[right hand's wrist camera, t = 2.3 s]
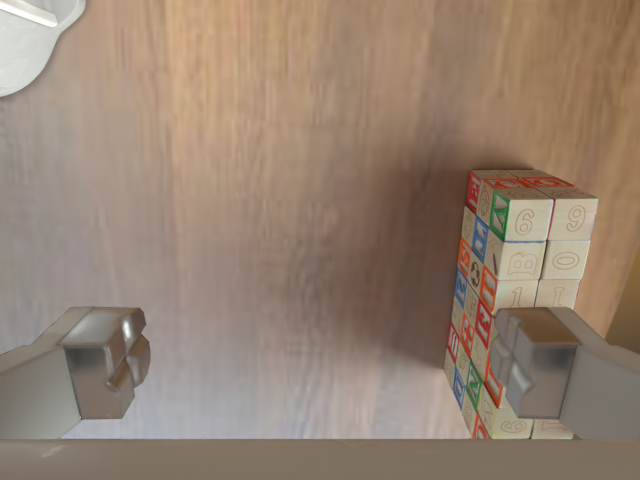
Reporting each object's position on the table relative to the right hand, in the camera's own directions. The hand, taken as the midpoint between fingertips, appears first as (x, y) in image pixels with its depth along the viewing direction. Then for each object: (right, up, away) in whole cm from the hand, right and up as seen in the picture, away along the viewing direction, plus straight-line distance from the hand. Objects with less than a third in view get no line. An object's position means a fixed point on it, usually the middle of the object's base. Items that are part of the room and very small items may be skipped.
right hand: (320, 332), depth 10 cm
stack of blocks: (+16, -2, +32) cm, 36 cm away
